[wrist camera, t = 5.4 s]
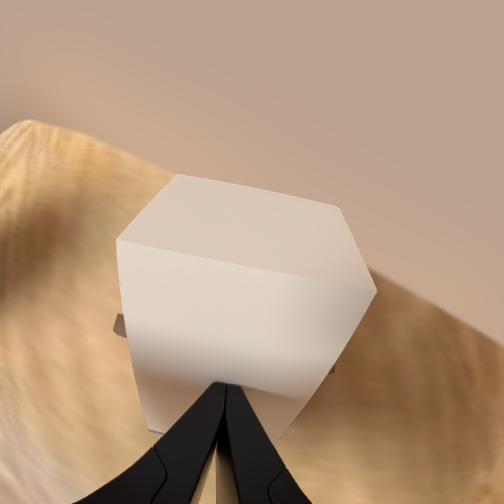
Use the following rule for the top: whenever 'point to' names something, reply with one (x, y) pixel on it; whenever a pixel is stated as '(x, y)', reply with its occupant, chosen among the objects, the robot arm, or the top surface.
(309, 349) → the plain white block
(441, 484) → the top surface
